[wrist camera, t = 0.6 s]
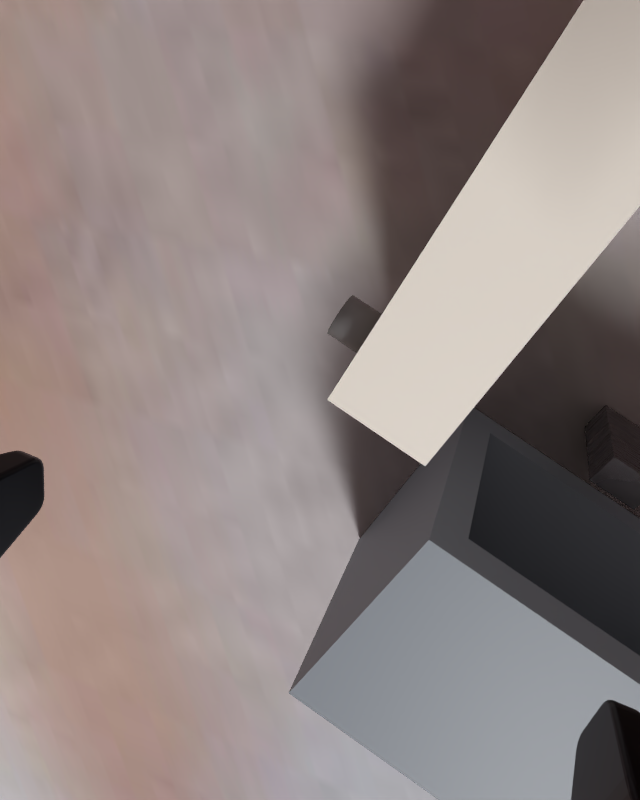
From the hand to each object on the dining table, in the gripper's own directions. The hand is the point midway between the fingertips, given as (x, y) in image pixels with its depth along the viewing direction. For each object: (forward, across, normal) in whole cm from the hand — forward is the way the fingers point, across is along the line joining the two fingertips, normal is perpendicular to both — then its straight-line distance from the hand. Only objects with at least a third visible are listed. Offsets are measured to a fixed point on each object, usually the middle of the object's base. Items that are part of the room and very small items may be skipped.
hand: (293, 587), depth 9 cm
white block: (+14, -1, -4) cm, 14 cm away
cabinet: (+14, -9, +9) cm, 18 cm away
